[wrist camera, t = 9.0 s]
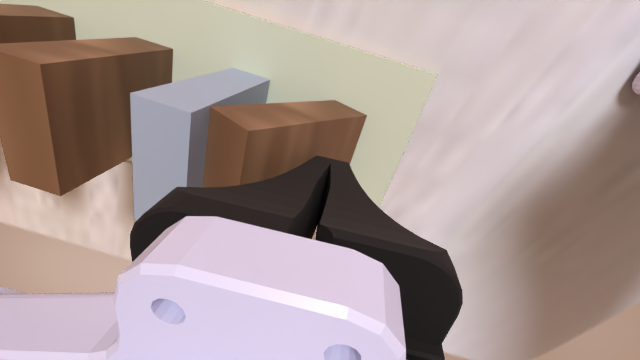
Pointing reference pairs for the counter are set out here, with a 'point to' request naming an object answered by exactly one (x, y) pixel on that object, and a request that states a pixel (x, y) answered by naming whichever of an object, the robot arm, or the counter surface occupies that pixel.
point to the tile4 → (34, 24)
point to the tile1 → (276, 139)
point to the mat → (273, 67)
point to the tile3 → (73, 106)
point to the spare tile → (181, 129)
